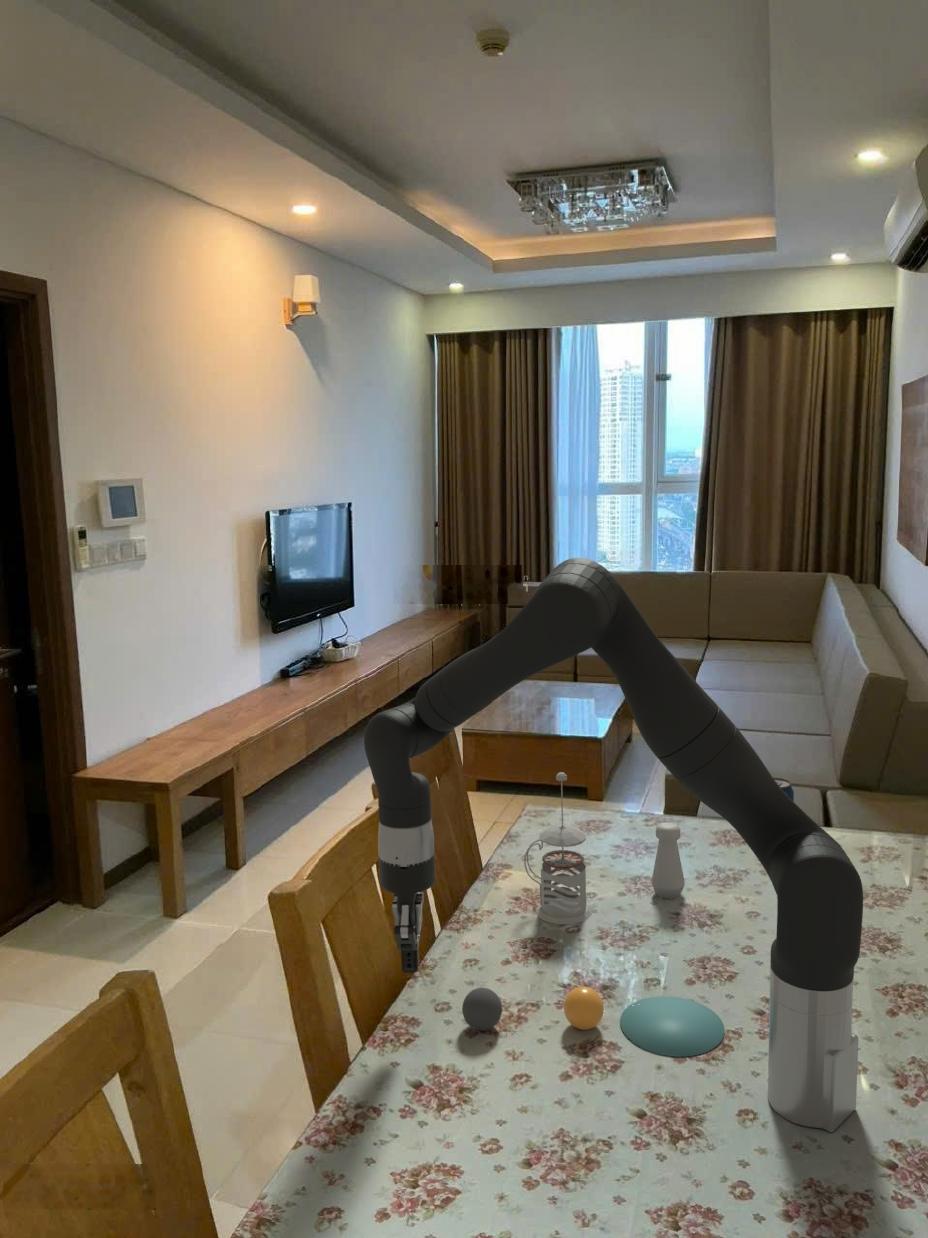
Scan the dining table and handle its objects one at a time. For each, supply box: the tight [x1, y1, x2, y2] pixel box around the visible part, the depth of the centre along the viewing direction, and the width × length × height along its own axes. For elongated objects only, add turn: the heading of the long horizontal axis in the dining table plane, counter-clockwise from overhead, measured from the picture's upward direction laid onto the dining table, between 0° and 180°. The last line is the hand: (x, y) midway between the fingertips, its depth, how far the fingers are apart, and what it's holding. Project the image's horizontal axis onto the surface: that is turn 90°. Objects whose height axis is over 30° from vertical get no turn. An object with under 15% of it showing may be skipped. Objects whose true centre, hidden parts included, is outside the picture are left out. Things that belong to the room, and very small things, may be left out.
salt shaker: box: [651, 822, 686, 900], centre depth 171 cm, size 6×6×13 cm
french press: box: [523, 771, 593, 925], centre depth 165 cm, size 10×12×25 cm
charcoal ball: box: [461, 987, 503, 1031], centre depth 133 cm, size 6×6×6 cm
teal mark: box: [619, 995, 725, 1058], centre depth 133 cm, size 14×14×1 cm
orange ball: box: [563, 986, 605, 1031], centre depth 133 cm, size 6×6×6 cm
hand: (410, 970), depth 133 cm, fingers closed
